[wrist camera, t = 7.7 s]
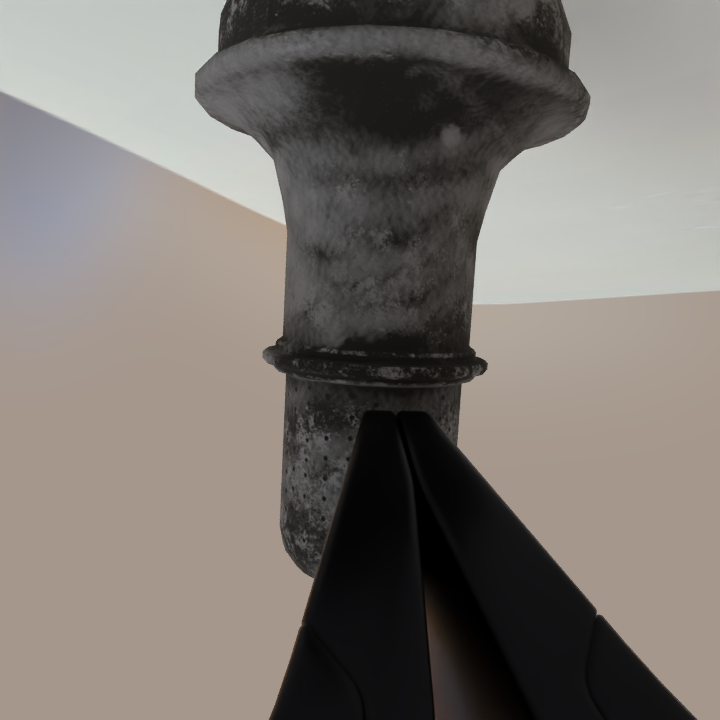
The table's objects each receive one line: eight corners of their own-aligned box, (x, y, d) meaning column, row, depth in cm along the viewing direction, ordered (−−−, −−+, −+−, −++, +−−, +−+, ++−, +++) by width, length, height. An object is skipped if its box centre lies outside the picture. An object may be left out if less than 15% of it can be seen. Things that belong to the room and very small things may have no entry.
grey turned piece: (365, -4, 14) (336, 536, 15) (112, -174, 9) (102, 635, 10) (661, -93, 10) (590, 627, 11) (499, -451, 5) (410, 844, 7)
